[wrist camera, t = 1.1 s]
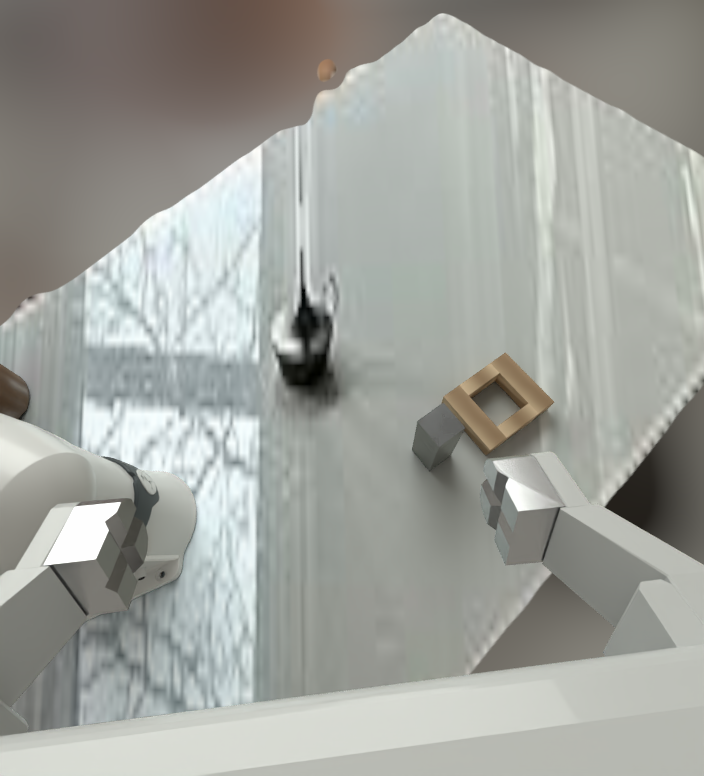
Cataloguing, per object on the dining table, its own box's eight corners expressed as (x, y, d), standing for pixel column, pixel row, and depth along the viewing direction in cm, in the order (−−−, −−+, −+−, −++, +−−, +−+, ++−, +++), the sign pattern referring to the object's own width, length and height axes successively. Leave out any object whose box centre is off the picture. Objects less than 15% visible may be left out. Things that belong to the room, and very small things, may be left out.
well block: (485, 455, 64) (490, 450, 61) (441, 403, 68) (443, 396, 65) (547, 409, 66) (554, 401, 63) (500, 361, 70) (505, 352, 67)
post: (429, 471, 64) (438, 447, 52) (412, 449, 65) (417, 421, 53) (450, 455, 64) (465, 427, 53) (433, 434, 66) (443, 402, 54)
